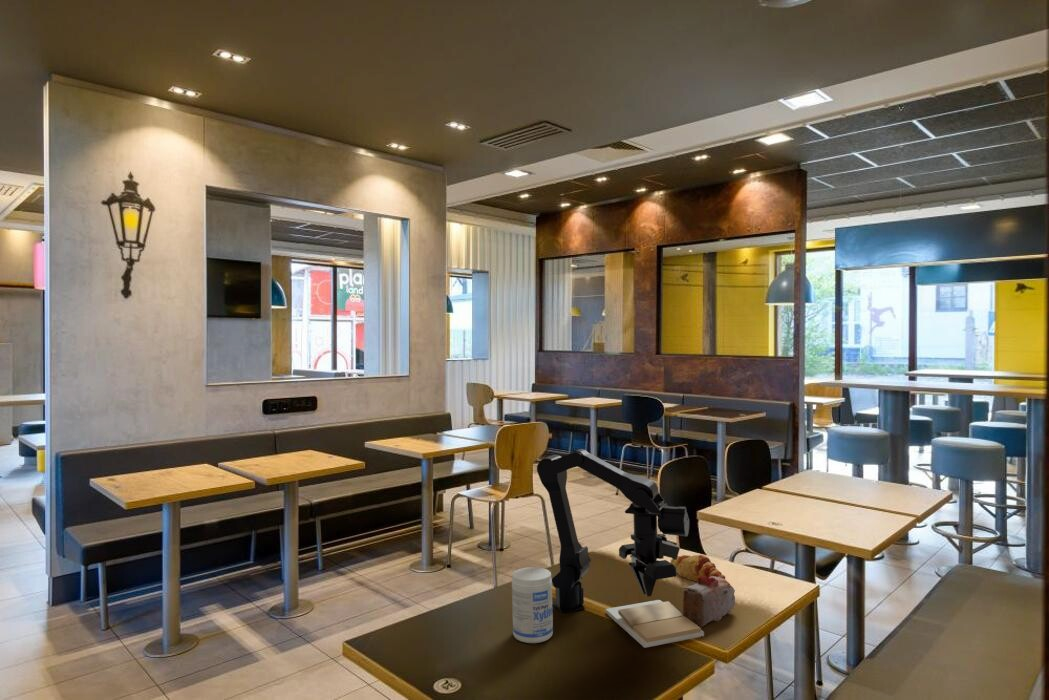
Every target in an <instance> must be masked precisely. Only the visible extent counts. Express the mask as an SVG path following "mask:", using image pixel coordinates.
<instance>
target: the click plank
mask: <svg viewBox="0 0 1049 700" xmlns="http://www.w3.org/2000/svg"><path fill="white" fill-rule="evenodd" d="M682 613H683V612H682ZM682 613H681V612H680V610H679V609H677V608H676V606H674V605H673V604H672V603H671V602H670V601H669V600H667V601H662V602H661V603H655V604H649V605H643V606H638V607H632V608H626V609H620V610H618V614H619V615H620V616H621V617H622V618H623V620H624V621H625V622H626V623H627V624H628V625H629V626H630V628H631V629H633V626H634V625H639V624H645V623H650V622H656V621H661V620H667V619H672V618H677V617H683V616H684V615H683V614H682Z"/></svg>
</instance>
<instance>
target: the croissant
mask: <svg viewBox="0 0 1049 700" xmlns="http://www.w3.org/2000/svg"><path fill="white" fill-rule="evenodd" d="M670 563H672V564H673V565H674V566H675V567H676V568H677V575H679V577H681V578H684V579H686V580H689V581H692V582H696V583H698V580H697V578H700V577H701V576H702V577H704V576H706V577H708V576H709V577H711V576H716V577H721V578H723V579H725V580H726V576H725V575H724V574H722V572H721V571H720V570H719V569H718V568H717V567H716V564H715V563H713V562H711V560H710V558H709V557H708V556H706V555H703V554H694V555H690V554H689V555H688V554H687V555H686V554H684V555H681V556H679V555H678V557H677V560H674V559H673V558H670Z"/></svg>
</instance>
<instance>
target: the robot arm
mask: <svg viewBox="0 0 1049 700" xmlns="http://www.w3.org/2000/svg"><path fill="white" fill-rule="evenodd" d="M576 467H578V468H580V469H581V470H583V471H585V472H587V473H589V474H591V475H593V476H594V477H596V478H598V479H600V480H602V481H603V482H606V483H607V484H609V485H611V486H613V487H614V488H616V489H617V490H618V491H620V492H621V494H622V495H623V496H624V497H625V498H626V499H627V500H629V501H630V502H631V503H630V505H629V506H628V507H627V508H626V509H625V510H624V513H625V514H630V515H633V534H630V539H631V540H632V541H633V543H626V544H621V546H620V547H619V548H618V555H619V558H622V560H626V559H627V557H628V556H629V557H630V559H631V560H630V561H631V562H628V566H629V567H630V569H631V570H632V573H633V575H634V576H635V579H636V581H637V583H638V585H639V587H640V589H641V592H642V594H643V595H646V597H652V595H653V592H654V588H655V585H656V582H657V580H663V579H664V580H665V579H669V578H675V577H677V575H678V573H677V568H676V567H675V566H674V565H673V564H672V563H671V561H668V560H667V559H664V558H665V557H666V558H670V559H672V558H673V559H674V560H677V557H678V556H679V553H680V549H681V547H680V546H678V545H676V544H674V543H672V542H671V541H668V539H667V537H666V536H664V535H668V536H669V535H670V536H679V537H688V535H689V533H690V532H689V531H690V518H689V515H688V512H687V507H686V506H672V505H671V506H670V505H668V502H666V500H665V499H664V497H663V496H662V494H660V492H659V487H658V485H657V483H656V482H655V481H654V480H652V479H650V478H647V477H644V476H641V475H636V474H631V473H629V472H626V471H623V470H621V469H620V468H618V467H617V466H614V465H613V464H610V463H608V462H607V461H605V460H603V459H601V458H599V457H598V456H595V454H594V455H593V454H592V453H590V452H588V451H587V450H586V449H584V448H579V449H576V450H575V451H573V452H570V453H567V454H564V455H559V454H551V455H549V456H547V457H545V458H543V459H541V460H539V462H538V464H537V466H536V472H537V475H538V476H539V477H538V478H539V479H540V482H541V484H542V486H543V487H544V488H545V490H546V491H547V493H548V496H549V497H548V498H549V500H550V504H551V505H550V506H551V509H552V513H553V518H554V522H555V527H556V532H557V536H558V539H559V543H560V551H559V560H558V561H559V572H558V573H557V574H556V575H554V576H553V577H551V578H552V587H554V588H555V601H552V605H554V606H555V607H556V608H557V609H558V611H559V612H561V613H569V612H574V611H580V610H585V609H586V607H585V605H584V603H585V601H584V600H585V596H584V595H585V594H584V587H582V586H583V585H582V582H581V580H582V579H583V577H584V575H585V574H587V572H588V571H589V569H590V566H591V565H590V563H591V562H592V559H591V558H590V555H589V548H588V546H584V547H583V546H582V544H581V543H580V542H579V539H578V535H577V532H576V527H575V526H576V525H575V523H574V519H573V518H574V517H573V514H572V510H571V505H570V500H569V497H568V493H567V487H566V486H567V479H568V472H567V471H568V470H570V469H574V468H576ZM658 530H659V532H661V533H662V534H663V535H662V534H658ZM658 559H659V560H658Z"/></svg>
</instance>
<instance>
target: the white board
mask: <svg viewBox="0 0 1049 700" xmlns="http://www.w3.org/2000/svg"><path fill="white" fill-rule="evenodd" d="M661 602H663V601H662V600H660V599H655V600H650V601H644V602H639V603H633V604H625V605H622V606H621V605H620V606H615V607H610V608H605V614H607V616H608V617H610V618H611V619H612V620H613V621H614V622H615V623H616V624H617V625H619V626H620V627H621V628H622V629H623V630H624V631H625V632H627V633H628V634H629V635H630V636H631V637H632V638H633V639H634V640H635V641H636V642H637V643H639V644H640V645H641V646H642V647H643V648H644V649H645V648H650V647H656V646H660V645H665V644H671V643H675V642H681V641H685V640H686V641H687V640H692V639H696V638H697V639H698V638H701V636H702V637H704V636H705V631H704V630H702V627H700V626H698V625H696V624H695V623H693V622H692V621H691V620H689V619H688V618H686V617H685V616H683V617H677V618H672V619H667V620H661V621H656V622H650V623H645V624H639V625H634V626H633V629H631V628H630V626H629V625H628V624H627V623H626V622H625V621H624V620H623V618H622V617H621V616H620V615H619V614H618V610H620V609H626V608H632V607H638V606H643V605H649V604H655V603H661Z"/></svg>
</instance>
